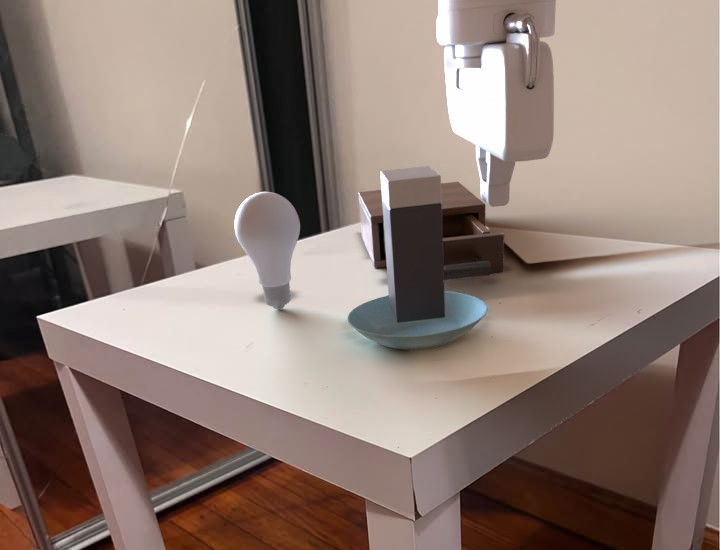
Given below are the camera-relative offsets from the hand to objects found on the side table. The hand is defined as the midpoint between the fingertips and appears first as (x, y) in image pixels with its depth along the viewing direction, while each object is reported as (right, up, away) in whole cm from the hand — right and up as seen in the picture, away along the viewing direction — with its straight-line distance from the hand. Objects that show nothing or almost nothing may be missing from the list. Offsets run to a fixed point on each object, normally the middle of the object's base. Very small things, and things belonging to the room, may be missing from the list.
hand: (494, 203), depth 66 cm
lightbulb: (-20, -7, +10) cm, 23 cm away
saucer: (-7, -12, 0) cm, 13 cm away
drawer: (-3, -1, +15) cm, 15 cm away
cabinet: (-4, +4, +26) cm, 27 cm away
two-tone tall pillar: (-7, -10, -1) cm, 12 cm away
